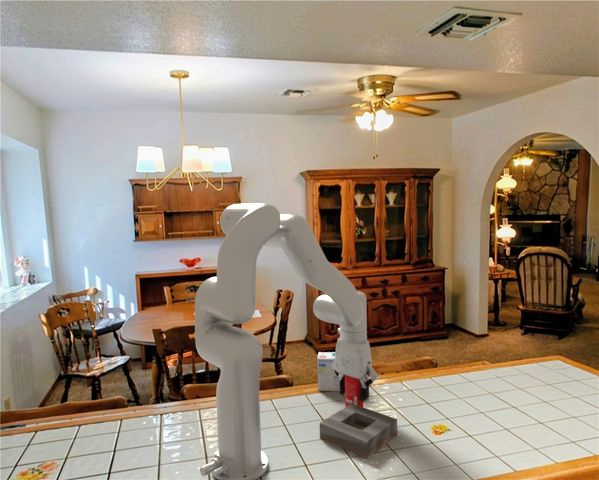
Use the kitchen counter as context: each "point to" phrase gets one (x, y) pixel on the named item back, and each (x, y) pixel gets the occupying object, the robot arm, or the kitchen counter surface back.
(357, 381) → the beverage can
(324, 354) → the light bulb box
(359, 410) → the socket block
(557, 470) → the kitchen counter surface
